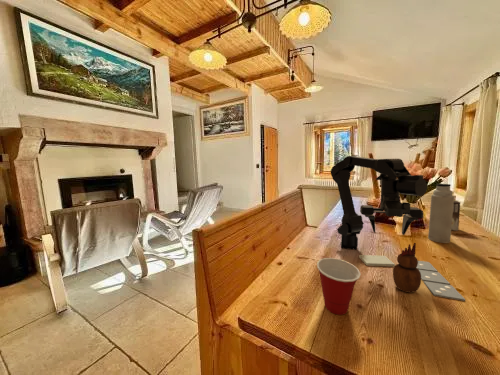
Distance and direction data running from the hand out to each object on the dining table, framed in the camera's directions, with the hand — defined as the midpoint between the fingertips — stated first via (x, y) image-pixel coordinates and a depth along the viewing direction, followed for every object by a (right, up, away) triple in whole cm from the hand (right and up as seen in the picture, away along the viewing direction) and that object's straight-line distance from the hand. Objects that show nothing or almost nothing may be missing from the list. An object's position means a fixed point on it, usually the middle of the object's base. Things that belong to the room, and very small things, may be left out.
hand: (388, 233), depth 76 cm
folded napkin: (-2, -12, +4) cm, 13 cm away
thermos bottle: (+42, -9, +24) cm, 49 cm away
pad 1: (+12, -12, 0) cm, 17 cm away
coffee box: (+61, -6, +40) cm, 74 cm away
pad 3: (+6, -14, -15) cm, 21 cm away
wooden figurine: (-4, -15, -14) cm, 20 cm away
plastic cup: (-29, -16, -21) cm, 39 cm away
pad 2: (+9, -13, -8) cm, 18 cm away
